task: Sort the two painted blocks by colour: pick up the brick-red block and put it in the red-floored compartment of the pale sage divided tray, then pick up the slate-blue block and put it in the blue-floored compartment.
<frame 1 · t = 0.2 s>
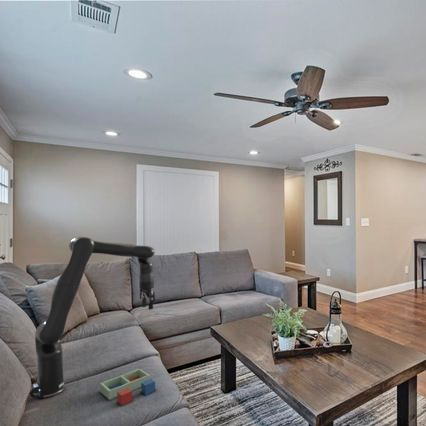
hand: (147, 308, 188), 29 cm above the table, tool pointing down, fingers open, 8 cm apart
red block: (125, 401, 144), on the table
sorting tray: (125, 387, 156), on the table
blue block: (148, 391, 151), on the table
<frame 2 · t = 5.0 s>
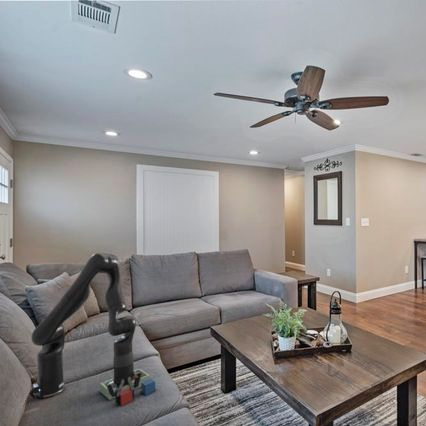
hand: (124, 400, 144), 0 cm above the table, tool pointing down, fingers closed on red block, 4 cm apart
red block: (125, 401, 144), on the table, touching gripper
everything else where it was.
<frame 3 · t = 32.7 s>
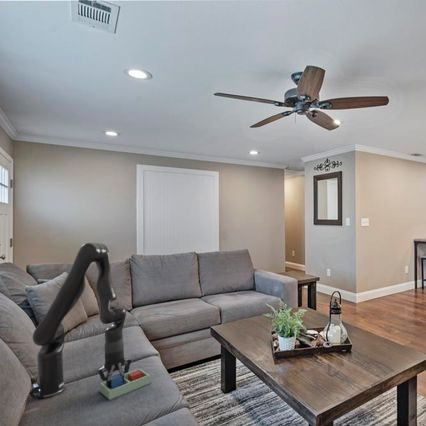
hand: (115, 385, 152), 3 cm above the table, tool pointing down, fingers closed on blue block, 4 cm apart
red block: (134, 382, 159), point 1 cm above the table, touching sorting tray
blue block: (115, 385, 152), point 3 cm above the table, touching gripper
when the fingers open (5 cm above the table, at t = 41.1 s): blue block drops 4 cm, resting on sorting tray.
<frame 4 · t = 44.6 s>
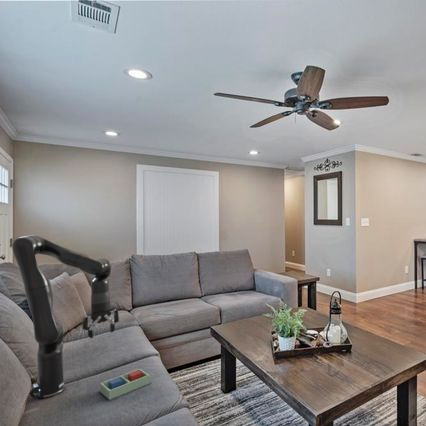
hand: (101, 334, 155), 26 cm above the table, tool pointing down, fingers open, 8 cm apart
blue block: (115, 389, 152), point 1 cm above the table, touching sorting tray
everything else where it was.
at the end: red block inside the target area on the sorting tray (0.1 cm from its centre), point 0.7 cm above the sorting tray's base; blue block inside the target area on the sorting tray (0.1 cm from its centre), point 0.7 cm above the sorting tray's base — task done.
